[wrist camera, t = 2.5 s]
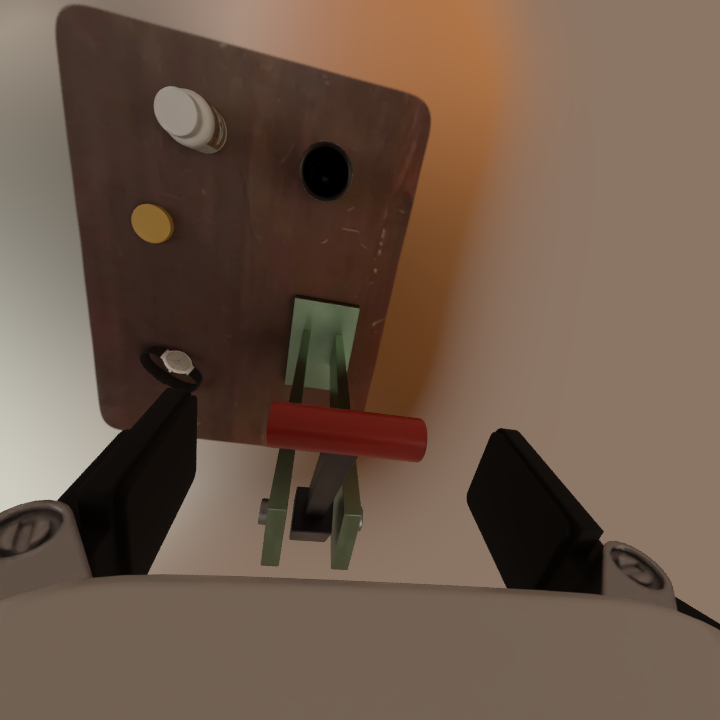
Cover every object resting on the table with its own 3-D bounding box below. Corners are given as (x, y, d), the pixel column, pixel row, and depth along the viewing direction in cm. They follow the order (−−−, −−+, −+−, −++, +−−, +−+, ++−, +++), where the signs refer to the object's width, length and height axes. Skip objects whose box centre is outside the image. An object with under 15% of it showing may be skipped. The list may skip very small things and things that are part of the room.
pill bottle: (232, 151, 37) (210, 139, 30) (190, 156, 36) (157, 145, 29) (221, 101, 35) (194, 75, 28) (177, 105, 35) (138, 81, 28)
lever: (275, 379, 11) (260, 451, 10) (424, 399, 12) (431, 468, 10) (272, 496, 22) (265, 538, 21) (349, 503, 23) (347, 543, 22)
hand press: (296, 294, 43) (241, 446, 16) (358, 305, 45) (406, 462, 17) (285, 379, 48) (229, 607, 21) (342, 386, 49) (360, 611, 22)
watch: (212, 369, 46) (203, 382, 43) (193, 393, 48) (183, 407, 44) (158, 334, 44) (144, 345, 41) (139, 360, 45) (124, 372, 42)
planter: (315, 147, 37) (311, 129, 28) (353, 169, 38) (362, 158, 29) (299, 190, 39) (290, 186, 29) (336, 209, 40) (339, 211, 30)
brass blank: (128, 213, 38) (123, 213, 37) (159, 197, 38) (155, 197, 37) (151, 248, 40) (146, 249, 39) (181, 233, 39) (177, 234, 39)
